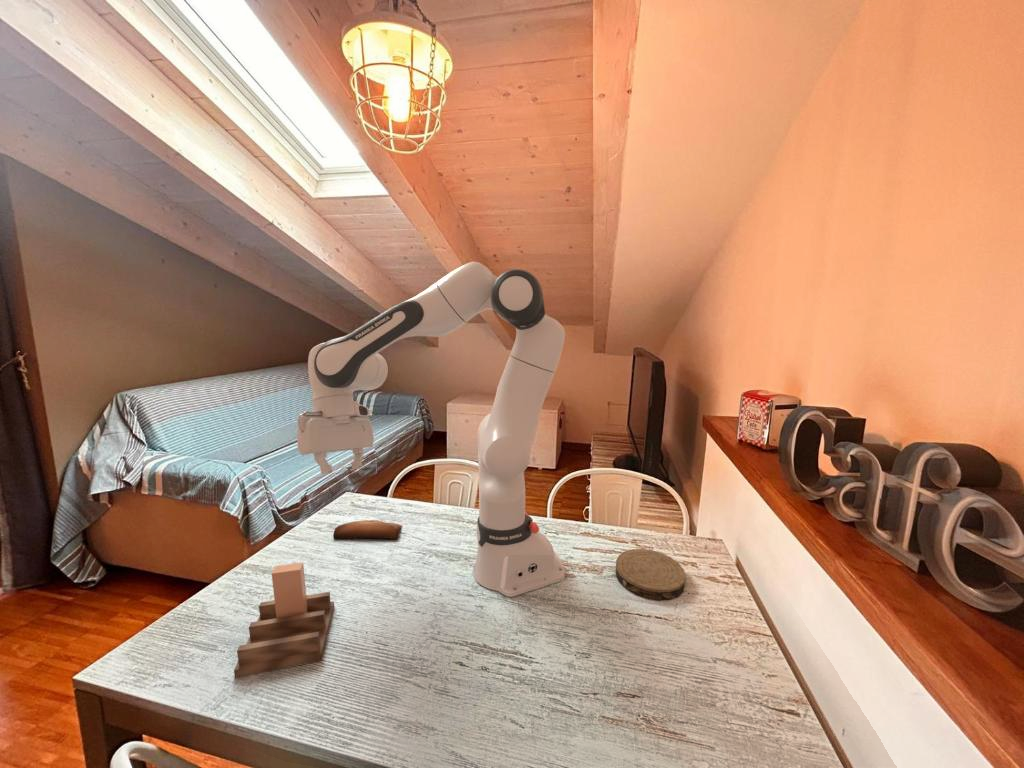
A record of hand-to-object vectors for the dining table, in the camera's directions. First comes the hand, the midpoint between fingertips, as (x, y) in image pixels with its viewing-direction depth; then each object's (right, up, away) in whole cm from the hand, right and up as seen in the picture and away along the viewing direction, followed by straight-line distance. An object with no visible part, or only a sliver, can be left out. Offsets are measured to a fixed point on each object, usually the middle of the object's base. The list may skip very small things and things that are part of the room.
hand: (342, 470), depth 93 cm
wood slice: (+72, -28, +6) cm, 77 cm away
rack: (-5, -30, -13) cm, 33 cm away
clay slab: (-5, -28, -11) cm, 31 cm away
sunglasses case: (-2, -24, +25) cm, 35 cm away
